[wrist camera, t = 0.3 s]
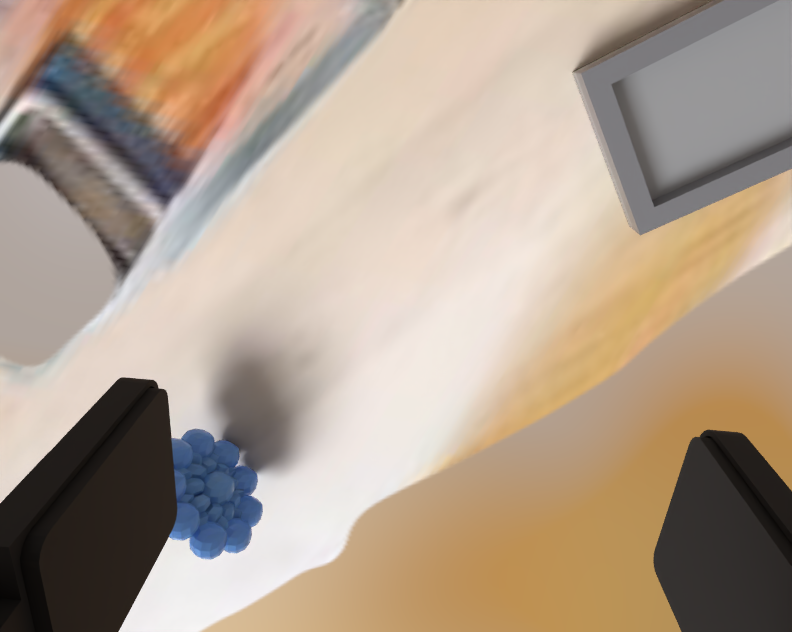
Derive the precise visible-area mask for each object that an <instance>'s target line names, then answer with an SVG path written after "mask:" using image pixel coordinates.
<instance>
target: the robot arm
mask: <svg viewBox="0 0 792 632" xmlns="http://www.w3.org/2000/svg"><path fill="white" fill-rule="evenodd" d="M176 517H177V498H176V486H175V474H174V463H173V451H172V439H171V428H170V416H169V405H168V395H167V392H166V390H164V389H159V388H158V385H157V383H156V382H155V381H154V380H146V379H135V378H120V379H118V380H117V381H116V382H115V383H114V384H113V385H112V386H111V387H110V389H109V390H108V391H107V392H106V393H105V394H104V395H103V396H102V397H101V398H100V399H99V400H98V401H97V402H96V403H95V404H94V405H93V407H92V408H91V409H90V410H89V411H88V412H87V413H86V414H85V415H84V416H83V417H82V418H81V419H80V420H79V421H78V422H77V423H76V425H75V426H74V427H73V428H72V429H71V430H70V431H69V432H68V433H67V434H66V435H65V436H64V437H63V438H62V439H61V440H60V441H59V443H58V444H57V445H56V446H55V447H54V448H53V449H52V450H51V451H50V452H49V453H48V454H47V455H46V456H45V457H44V458H43V459H42V460H41V461H40V462H39V463H38V464H37V465H36V466H35V467H34V468H33V469H32V471H31V472H30V473H29V474H28V475H27V476H26V477H25V478H24V479H23V480H22V481H21V482H20V483H19V484H18V485H17V486H16V487H15V489H14V490H13V491H12V492H11V493H10V494H9V495H8V496H7V497H6V498H5V499H4V500H3V501H2V502H1V503H0V632H118V631H119V630H120V628H121V626H122V624H123V622H124V620H125V618H126V616H127V615H128V613H129V611H130V609H131V607H132V605H133V603H134V601H135V599H136V598H137V596H138V594H139V592H140V590H141V588H142V586H143V584H144V583H145V581H146V579H147V577H148V575H149V573H150V571H151V569H152V567H153V566H154V564H155V562H156V560H157V558H158V556H159V554H160V552H161V551H162V549H163V547H164V545H165V543H166V541H167V539H168V537H169V535H170V534H171V532H172V530H173V527H174V525H175V522H176ZM654 568H655V572H656V575H657V577H658V579H659V582H660V584H661V586H662V588H663V591H664V593H665V595H666V597H667V600H668V602H669V604H670V606H671V609H672V611H673V613H674V615H675V618H676V620H677V622H678V624H679V627H680V629H681V631H682V632H792V491H791V490H790V489H789V487H788V486H787V485H786V484H785V483H784V481H783V480H782V479H781V478H780V477H779V476H778V474H777V473H776V472H775V471H774V469H773V468H772V467H771V466H770V465H769V464H768V462H767V461H766V460H765V459H764V458H763V456H762V455H761V454H760V453H759V452H758V450H757V449H756V448H755V447H754V446H753V444H752V443H751V442H750V441H749V440H748V439H747V437H746V436H745V435H743V434H742V433H738V432H727V431H716V430H706V431H704V432H703V433H702V434H701V435H700V437H694V438H693V439H692V440H691V442H690V444H689V447H688V450H687V453H686V456H685V459H684V463H683V465H682V468H681V471H680V474H679V477H678V481H677V484H676V487H675V490H674V493H673V496H672V499H671V502H670V505H669V508H668V511H667V514H666V517H665V521H664V523H663V527H662V530H661V533H660V536H659V539H658V542H657V545H656V548H655V552H654Z"/></svg>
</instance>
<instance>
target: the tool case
mask: <svg viewBox="0 0 792 632" xmlns="http://www.w3.org/2000/svg"><path fill="white" fill-rule="evenodd" d="M572 73H573V75H574V78H575V81H576V84H577V86H578V89H579V92H580V94H581V97H582V100H583V102H584V105H585V108H586V111H587V113H588V116H589V119H590V121H591V124H592V127H593V129H594V132H595V135H596V137H597V140H598V143H599V146H600V148H601V151H602V154H603V156H604V159H605V162H606V164H607V167H608V170H609V173H610V175H611V178H612V181H613V183H614V186H615V189H616V191H617V194H618V197H619V200H620V202H621V205H622V208H623V210H624V213H625V216H626V218H627V221H628V224H629V226H630V227H631V228H632V229H633V230H635V231H636V232H637V233H638V234H639V235H642V234H644V233H647V232H649V231H651V230H653V229H656V228H658V227H660V226H662V225H665V224H667V223H669V222H671V221H674V220H676V219H678V218H681V217H683V216H685V215H687V214H690V213H692V212H694V211H696V210H699V209H701V208H703V207H706V206H708V205H710V204H712V203H715V202H717V201H719V200H721V199H724V198H726V197H728V196H731V195H733V194H735V193H737V192H740V191H742V190H744V189H746V188H749V187H751V186H753V185H756V184H758V183H760V182H762V181H765V180H767V179H769V178H771V177H774V176H776V175H778V174H781V173H783V172H785V171H787V170H790V169H792V0H713V1H711V2H709V3H707V4H705V5H703V6H701V7H699V8H697V9H695V10H693V11H691V12H689V13H687V14H685V15H684V16H682V17H680V18H678V19H676V20H674V21H672V22H670V23H668V24H666V25H664V26H662V27H660V28H658V29H656V30H654V31H652V32H650V33H648V34H646V35H644V36H642V37H641V38H639V39H637V40H635V41H633V42H631V43H629V44H627V45H625V46H623V47H621V48H619V49H617V50H615V51H613V52H611V53H609V54H607V55H605V56H603V57H601V58H600V59H598V60H596V61H594V62H592V63H590V64H588V65H586V66H584V67H582V68H580V69H578V70H576V71H574V72H572Z"/></svg>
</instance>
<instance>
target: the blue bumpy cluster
mask: <svg viewBox="0 0 792 632" xmlns="http://www.w3.org/2000/svg"><path fill="white" fill-rule="evenodd" d="M171 439H172V451H173V463H174V474H175V486H176V498H177V517H176V522H175V525H174V527H173V530H172V532H171V534H170V535H169V537H170V538H172V539H173V540H185V539H187V538H190V540H189V541H190V549H191V550H192V551H193V553H194V554H195V555H196V556H198V557H200V558H202V559H213V558H215V557H217V556H219V555H220V554H221V553H222V552H223V550H225V551H227V552H228V553H238V552H240V551H243V550H245V548H246V547H247V546H248V544H249V543H250V540H251V536H252V531H251V527H253V526H255V525H256V524H257V523H258V522H259V520H260V519H261V516H262V512H263V507H262V503H261V502H260V501H259V500H258V499H256V498H254V497H252V496H248V495H251V494H252V493H253V491H254V490H255V489H256V486H257V482H258V479H257V473H256V472H255V471H254V470H252V469H251V468H249V467H247V466H240V465H239V466H236V465H237V464H238V460H239V448H238V447H237V446H236V445H235V444H233V443H231V442H229V441H224V440H219V441H216V442H214V438H213V436H212V435H211V434H210V433H208V432H206V431H205V430H201V429H192V430H189V431H187V432H186V433H185V434H184V435H183V436H182V438H181V439H176V438H171ZM235 466H236V467H235Z"/></svg>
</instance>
